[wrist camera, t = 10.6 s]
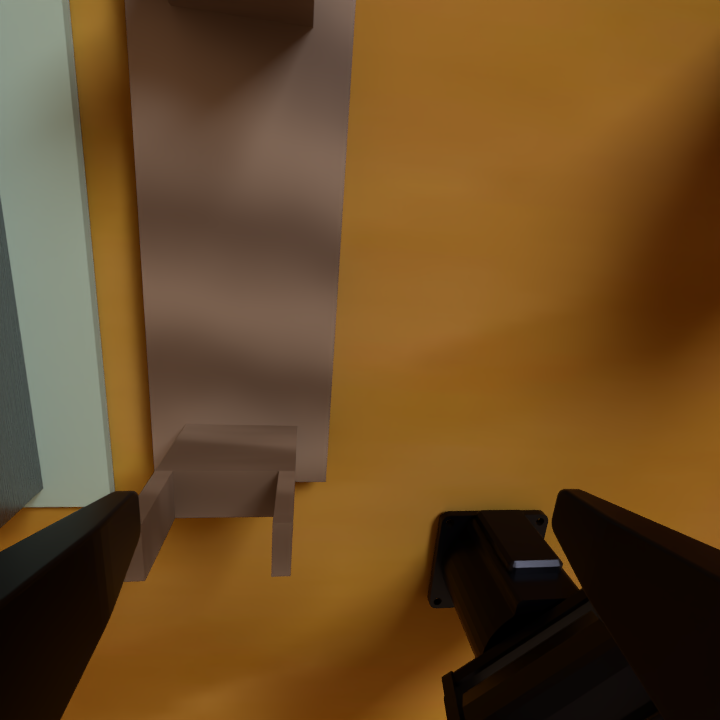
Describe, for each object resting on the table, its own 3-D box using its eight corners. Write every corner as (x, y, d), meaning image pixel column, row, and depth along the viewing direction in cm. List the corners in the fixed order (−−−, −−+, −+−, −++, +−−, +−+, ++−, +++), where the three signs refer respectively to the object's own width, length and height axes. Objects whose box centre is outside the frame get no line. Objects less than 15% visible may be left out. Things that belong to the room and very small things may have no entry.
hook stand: (324, 465, 22) (335, 598, 14) (165, 465, 21) (73, 610, 12) (354, -38, 16) (406, -333, 8) (135, -78, 15) (-74, -472, 7)
